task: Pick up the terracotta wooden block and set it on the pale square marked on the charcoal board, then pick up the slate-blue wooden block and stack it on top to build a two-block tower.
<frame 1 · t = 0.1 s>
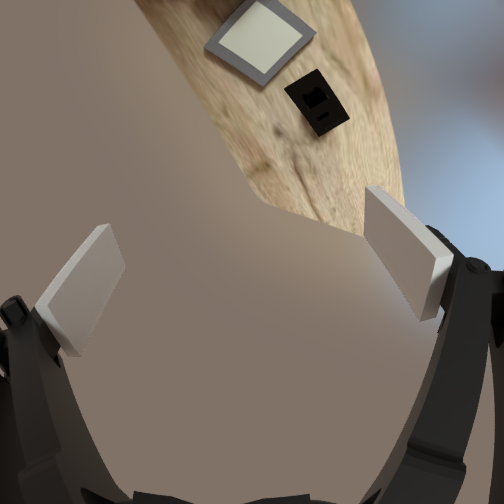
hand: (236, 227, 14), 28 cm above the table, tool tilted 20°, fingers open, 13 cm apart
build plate: (317, 101, 36), on the table
blueprint board: (259, 36, 28), on the table
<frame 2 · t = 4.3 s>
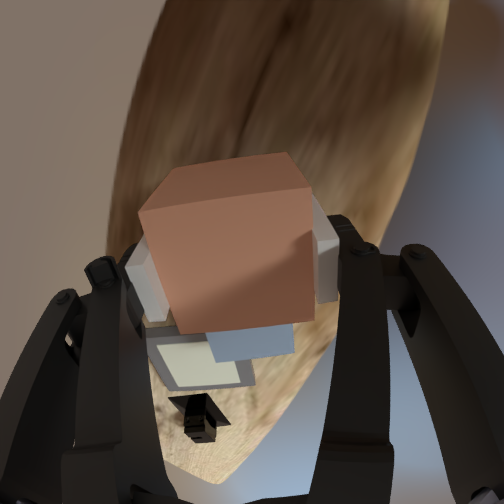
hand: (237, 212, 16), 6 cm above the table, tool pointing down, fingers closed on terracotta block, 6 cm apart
terracotta block: (237, 211, 16), point 5 cm above the table, touching gripper
blue block: (246, 281, 25), on the table
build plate: (201, 408, 36), on the table
blueprint board: (201, 355, 29), on the table
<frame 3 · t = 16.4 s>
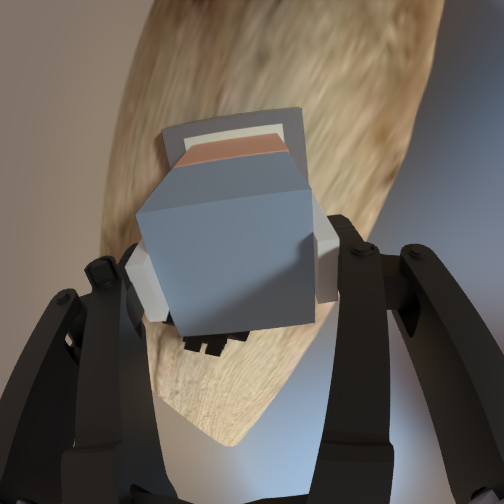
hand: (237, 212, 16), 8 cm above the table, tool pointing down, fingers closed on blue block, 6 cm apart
terracotta block: (240, 177, 21), point 1 cm above the table, touching blue block, blueprint board, gripper
blue block: (237, 211, 16), point 7 cm above the table, touching gripper, terracotta block
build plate: (209, 310, 31), on the table
blueprint board: (240, 171, 23), on the table
when the fingers open (8 cm above the table, at t = 16.5 s): blue block stays where it is, resting on terracotta block.
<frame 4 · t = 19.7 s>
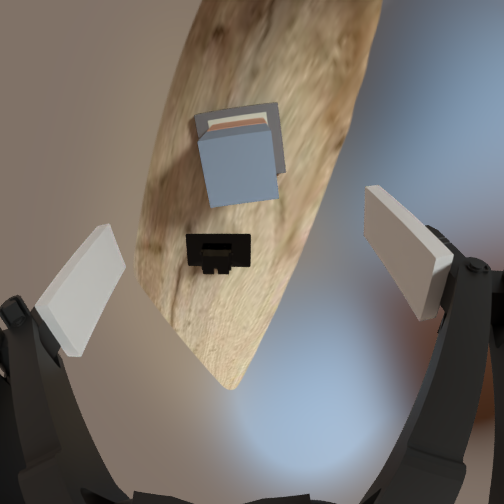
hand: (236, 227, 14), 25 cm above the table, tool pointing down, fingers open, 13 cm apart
terracotta block: (241, 144, 34), point 1 cm above the table, touching blue block, blueprint board
blue block: (240, 155, 29), point 7 cm above the table, touching terracotta block
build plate: (218, 248, 44), on the table
blueprint board: (241, 141, 36), on the table
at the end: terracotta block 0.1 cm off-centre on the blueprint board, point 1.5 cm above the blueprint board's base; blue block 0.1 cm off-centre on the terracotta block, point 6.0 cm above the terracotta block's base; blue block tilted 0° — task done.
